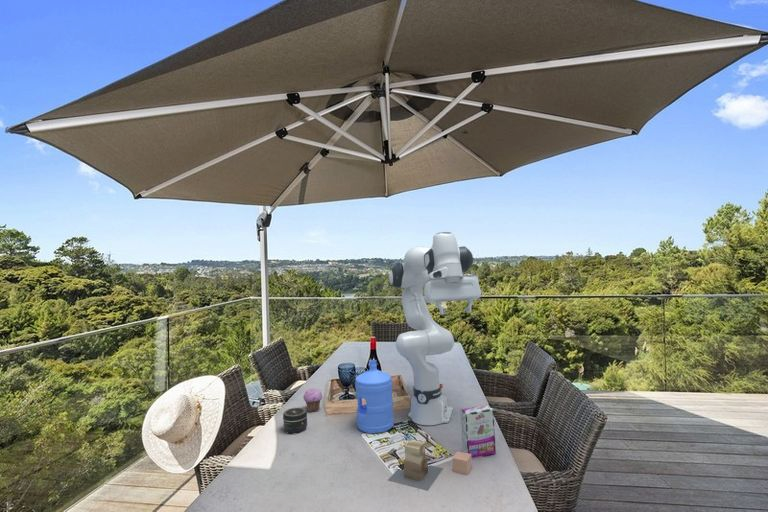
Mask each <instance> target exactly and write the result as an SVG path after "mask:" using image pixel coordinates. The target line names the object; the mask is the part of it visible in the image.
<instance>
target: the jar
mask: <svg viewBox="0 0 768 512" xmlns="http://www.w3.org/2000/svg"><path fill="white" fill-rule="evenodd" d="M282 420H283V429H284V432H285V433H287V432H288V433H287V434H289V433H297V434H301V433H303V432H304V431H306V429H307V426H308V411H307V409H306V408H303V407H293V408H288V409H286V410H284V412H283V414H282ZM300 432H301V433H300Z"/></svg>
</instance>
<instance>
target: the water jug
mask: <svg viewBox="0 0 768 512" xmlns="http://www.w3.org/2000/svg"><path fill="white" fill-rule="evenodd" d="M368 363H369V364H368V367H369V369H368V370H367V371H364V372H363V373H361V374H358V375H357V376H356V377H355V384H354V385H355V386H354V388H355V395H356V396H357V409H356V426H357V428H358V429H359V430H360V431H361V432H364V433H367V434H380V433H385V432H387V431H390V430H391V429H392V428H393V426H394V423H395V422H394V399H393V379H392V376H391V375H390V374H389V373H387V372H384V371H381V370H380V369H378V368H377V367H378V366H377V365H378V364H377V360H376V359H369V362H368ZM362 399H364V400H365V404H363V401H362Z"/></svg>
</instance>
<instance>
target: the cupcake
mask: <svg viewBox="0 0 768 512" xmlns="http://www.w3.org/2000/svg"><path fill="white" fill-rule="evenodd" d="M322 399H323V394H322V391H321V390H320V389H319V388H309V389H308V388H307V390H306V391H305V392H304V394H303V401H304V402H305V403H306V407H307V410H308V411H309V412H310V413H313V412H316V411H318V410H319V409H320V403H321V401H322Z"/></svg>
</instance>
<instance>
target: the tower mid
mask: <svg viewBox="0 0 768 512" xmlns="http://www.w3.org/2000/svg"><path fill="white" fill-rule="evenodd" d="M425 443H426V442H425V441H421V440H420V441H419V440H415V439H410V440H409V441H408V442H407V443H406V444H405V445H404V457H405V458H404V460H405V461H406V462H411V463H415V464H420V463H421V462H422V461H423V460H424V458H425V456H426V444H425Z"/></svg>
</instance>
